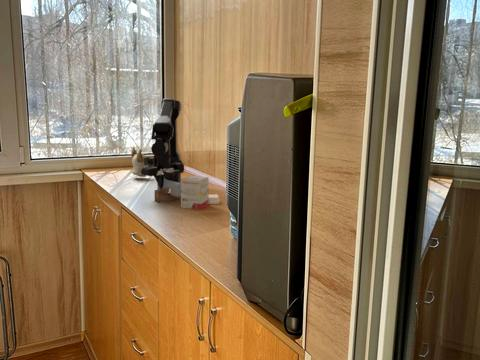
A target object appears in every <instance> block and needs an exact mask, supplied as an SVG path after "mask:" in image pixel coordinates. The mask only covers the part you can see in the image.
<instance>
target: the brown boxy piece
mask: <svg viewBox="0 0 480 360" xmlns="http://www.w3.org/2000/svg"><path fill="white" fill-rule="evenodd" d="M177 199H181V196H179V197H178V196H174V195H171V192H168V189H165V188H163V189H158V190H157V189H154V202H155V203H157V204H160V203H161V202H167V201H171V200H177Z"/></svg>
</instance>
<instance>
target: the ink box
mask: <svg viewBox="0 0 480 360" xmlns="http://www.w3.org/2000/svg"><path fill="white" fill-rule="evenodd" d="M209 190H210V189H209V176H198V175H188V176H185V177H183V178H181V198H180V207H181V208H185V209H189V210H200V211H202V210H203V209H205V208H207V207H208V206H209V205H210V204H209V195H210V194H209V193H210V191H209Z"/></svg>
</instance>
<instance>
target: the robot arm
mask: <svg viewBox="0 0 480 360" xmlns="http://www.w3.org/2000/svg"><path fill="white" fill-rule="evenodd" d="M160 101H161V103H160V109H161V110H160V113H159V114H160V115H159V117H158V118H156V119H155V121H154V123H153V124H152V132H151V140H154V142H153V144H152V145H151V148H150V150H151V153H152V155H153V158H150V156H146V158H144V165H145V166H146V165H148V167H143V168H142V169H141V174H142V175H146V177H154V178H155V181H156V183H158V186H159V189H162V188H163V182H164V179H166V180H170V181H174V182H178V183H181V179H182V177H181V174H183V173H185V172H184V171H185V165H184V163H183V161H182V160H181V159H182V158H181V155H180V153H179V151H178V129H177V127H178V126H177V125H178V123H177V122H178V121H177V120H178V118H179V116H180V115H181V111H182V102H181V101H179V100H176V99H174V98H169V97H168V98H162V100H160Z"/></svg>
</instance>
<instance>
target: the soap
mask: <svg viewBox="0 0 480 360" xmlns="http://www.w3.org/2000/svg"><path fill="white" fill-rule="evenodd" d="M210 204H211V205H219V204H220V197H219V195H218V194H216V193H215V194H209V205H210Z"/></svg>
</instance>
